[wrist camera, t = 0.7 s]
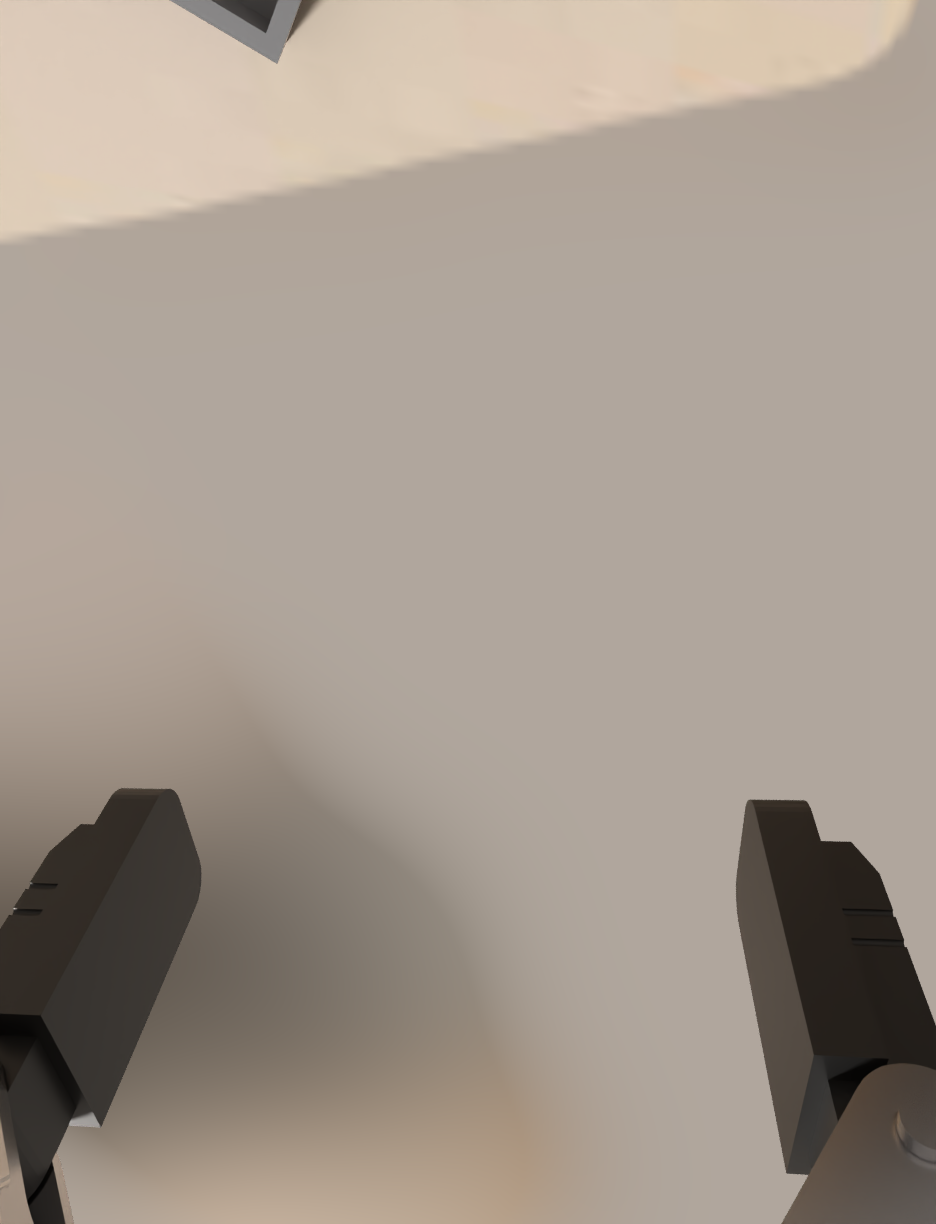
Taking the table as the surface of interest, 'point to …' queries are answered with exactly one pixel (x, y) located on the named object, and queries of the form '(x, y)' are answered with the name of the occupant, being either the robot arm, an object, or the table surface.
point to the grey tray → (249, 21)
